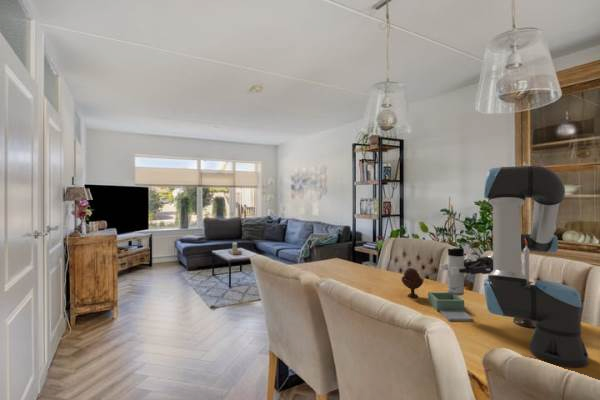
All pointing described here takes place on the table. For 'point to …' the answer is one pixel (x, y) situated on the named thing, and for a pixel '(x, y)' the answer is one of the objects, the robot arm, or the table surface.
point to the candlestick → (519, 321)
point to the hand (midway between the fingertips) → (446, 269)
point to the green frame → (445, 301)
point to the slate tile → (456, 315)
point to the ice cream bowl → (412, 281)
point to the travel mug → (456, 279)
